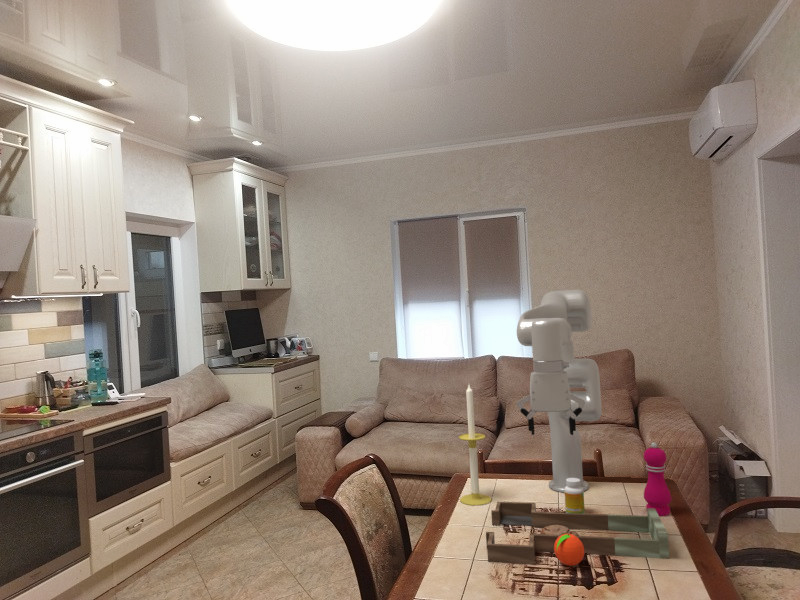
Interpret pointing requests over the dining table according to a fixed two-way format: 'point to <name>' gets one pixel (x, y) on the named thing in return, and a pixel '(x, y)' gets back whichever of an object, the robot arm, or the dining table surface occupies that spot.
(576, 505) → the supplement bottle
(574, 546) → the clementine
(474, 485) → the candle
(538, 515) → the channel
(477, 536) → the dining table surface
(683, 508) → the dining table surface
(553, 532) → the cookie
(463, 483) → the dining table surface
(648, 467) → the pepper mill
